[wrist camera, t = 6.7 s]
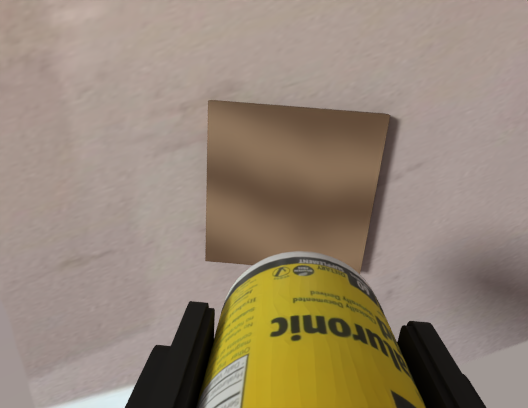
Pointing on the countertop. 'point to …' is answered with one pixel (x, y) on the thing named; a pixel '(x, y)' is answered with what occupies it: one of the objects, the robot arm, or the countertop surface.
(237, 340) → the supplement bottle
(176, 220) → the countertop surface
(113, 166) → the countertop surface
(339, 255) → the walnut board
